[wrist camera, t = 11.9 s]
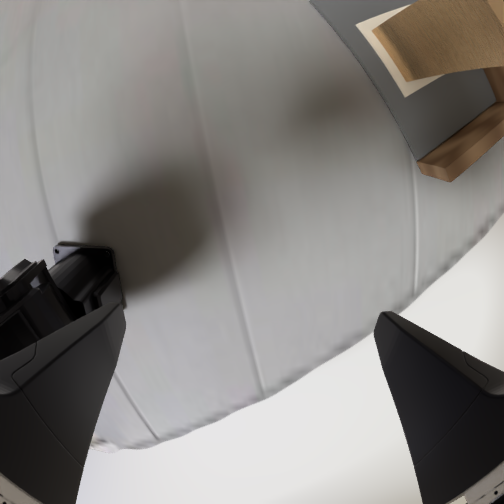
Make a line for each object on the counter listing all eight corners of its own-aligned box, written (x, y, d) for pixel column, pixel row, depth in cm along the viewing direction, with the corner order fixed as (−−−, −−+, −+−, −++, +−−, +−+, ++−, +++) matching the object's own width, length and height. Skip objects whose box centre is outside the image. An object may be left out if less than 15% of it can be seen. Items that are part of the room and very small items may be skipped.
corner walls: (421, 173, 20) (450, 182, 16) (309, 1, 14) (322, -21, 11) (503, 108, 17) (529, 110, 13) (422, -30, 11) (442, -44, 8)
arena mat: (415, 159, 20) (418, 160, 19) (309, 1, 14) (310, -1, 14) (494, 100, 17) (497, 100, 16) (415, -29, 12) (417, -31, 11)
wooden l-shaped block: (406, 82, 17) (521, 64, 6) (371, 30, 15) (468, -26, 4) (454, 56, 15) (552, 42, 4) (424, 10, 14) (513, -26, 2)
